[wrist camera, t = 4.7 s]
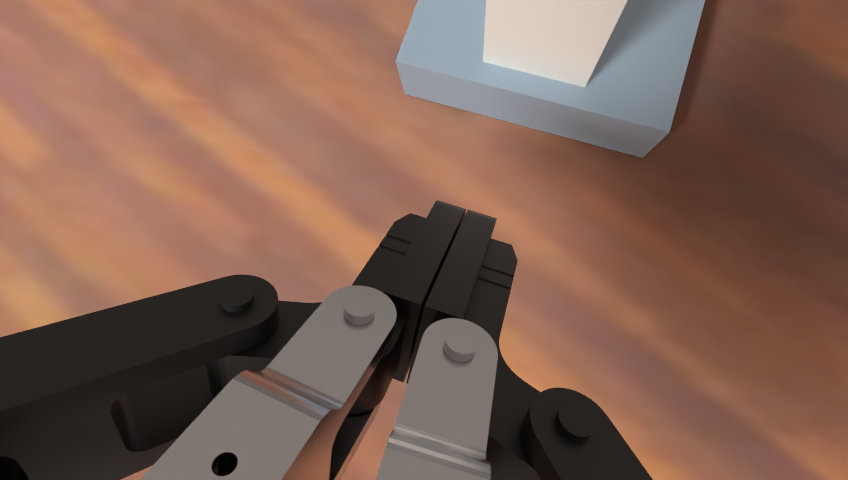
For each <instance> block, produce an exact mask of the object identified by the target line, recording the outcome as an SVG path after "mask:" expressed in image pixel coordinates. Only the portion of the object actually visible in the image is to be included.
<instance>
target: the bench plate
mask: <svg viewBox="0 0 848 480" xmlns="http://www.w3.org/2000/svg"><path fill="white" fill-rule="evenodd" d="M704 3H705V0H628V1H627V3H626V5H625V7H624V9H623V11H622V13H621V15H620V17H619V19H618V21H617V23H616V25H615V27H614V29H613V31H612V33H611V35H610V37H609V39H608V41H607V44H606V46H605V48H604V50H603V52H602V54H601V56H600V58H599V60H598V62H597V64H596V66H595V68H594V70H593V72H592V74H591V76H590V78H589V80H588V82H587V84H586V86H585V87H581V86H577V85H573V84H569V83H565V82H561V81H557V80H553V79H549V78H546V77H542V76H538V75H534V74H530V73H526V72H522V71H518V70H514V69H510V68H506V67H502V66H498V65H494V64H490V63H486V62H483V50H484V31H485V12H486V0H418V2H417V5H416V7H415V10H414V13H413V15H412V18H411V21H410V23H409V26H408V29H407V32H406V34H405V37H404V40H403V42H402V45H401V48H400V50H399V53H398V56H397V59H396V65H397V68H398V72H399V76H400V79H401V83H402V86H403V90H404V93H405V94H406V95H410V96H414V97H418V98H421V99H425V100H429V101H432V102H436V103H440V104H444V105H447V106H451V107H455V108H458V109H462V110H466V111H470V112H473V113H477V114H481V115H484V116H488V117H492V118H496V119H499V120H503V121H507V122H510V123H514V124H518V125H522V126H525V127H529V128H533V129H536V130H540V131H544V132H548V133H551V134H555V135H559V136H562V137H566V138H570V139H574V140H577V141H581V142H585V143H588V144H592V145H596V146H600V147H603V148H607V149H611V150H615V151H618V152H622V153H626V154H629V155H633V156H637V157H641V158H643V157H644V156H645V155H646V154H647V153H648V152H649V151H651V150H652V149H653V148H654V147H655V146H656V145H657V144H658V143H659V142H660V141H661V140H662V139H663V138H664V137H665V136H666V135H667V134H668V133H669V132H670V129H671V125H672V122H673V118H674V114H675V110H676V107H677V103H678V99H679V96H680V92H681V88H682V84H683V81H684V77H685V73H686V70H687V66H688V62H689V59H690V55H691V51H692V47H693V44H694V40H695V36H696V33H697V29H698V25H699V21H700V18H701V14H702V10H703V7H704Z"/></svg>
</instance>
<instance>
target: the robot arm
mask: <svg viewBox="0 0 848 480" xmlns="http://www.w3.org/2000/svg"><path fill="white" fill-rule="evenodd" d="M465 212H466V209H464V208H461V207H457V206H454V205H451V204H448V203H444V202H441V201H438V200H437V201H436V202H435V204H434V206H433V208H432V209H431V211H430V213H429V214H428V216H427V218H424V217H421V216H418V215H414V214H411V213H410V214H408V215H406V216H404V217H403V218H401V219H399V220H397V221H395V222H394V224H393V225H392V227H391V228H390V230H389V231H388V233H387V234H386V237H384V239H383V240H382V242H381V243H380V244H379V247H377V249H376V250H375V252H374V253H373V255H372V256H371V258H370V259H369V261H368V262H367V264H366V265H365V267H364V268H363V270H362V271H361V273H360V274H359V276H358V277H357V278H356V280H355V281H354V283H353V284H352V286H347V287H343V288H340V289H338V290H336V291H334V292H332V293H331V294H330V295H329V296H328V297H327V298H326V299H325V300H324V301H323V302H320V303H301V302H288V301H278V296H277V292H276V290H275V288H274V287H273V286H272V285H271V284H270V283H269V282H267V281H266V280H264V279H262V278H259V277H256V276H252V275H232V276H227V277H223V278H219V279H216V280H212V281H208V282H205V283H201V284H197V285H193V286H190V287H186V288H182V289H179V290H175V291H171V292H167V293H164V294H160V295H156V296H153V297H149V298H145V299H141V300H138V301H134V302H130V303H127V304H123V305H119V306H115V307H112V308H108V309H104V310H101V311H97V312H93V313H90V314H86V315H82V316H78V317H75V318H71V319H67V320H64V321H60V322H56V323H52V324H49V325H45V326H41V327H38V328H34V329H30V330H26V331H23V332H19V333H15V334H12V335H8V336H4V337H0V480H120V479H123V478H125V477H127V476H129V475H132V474H134V473H136V472H139V471H141V470H143V469H145V468H148V467H150V466H152V465H153V466H152V467H151V468H150V469H149V470H148V471H147V473H146V474H145V475H144V476H143V477H142V478H141V479H140V480H340V479H341V478H342V476H343V474H344V472H345V470H346V469H347V467H348V465H349V463H350V461H351V459H352V458H353V456H354V454H355V452H356V450H357V449H358V447H359V445H360V443H361V441H362V439H363V438H364V436H365V434H366V432H367V430H368V429H369V427H370V425H371V423H372V421H373V419H374V418H375V416H376V414H377V412H378V410H379V408H380V403H381V401H382V399H383V397H384V396H385V393H386V391H387V389H388V387H389V385H390V382H391V380H392V378H393V379H396V380H398V381H401V382H404V380H405V377H406V375H407V373H408V370H409V368H410V370H409V374H408V379H407V384H408V385H407V388H406V391H405V394H404V397H403V401H402V404H401V407H400V410H399V414H398V417H397V420H396V423H395V426H394V429H393V431H392V432H391V434H390V437H389V440H388V443H387V446H386V449H385V452H384V455H383V459H382V462H381V465H380V468H379V471H378V474H377V478H376V480H652V478H651V477H650V475H649V474H648V473H647V471H646V470H645V468H644V467H643V466H642V464H641V463H640V461H639V460H638V458H637V457H636V456H635V454H634V453H633V451H632V450H631V449H630V447H629V446H628V444H627V443H626V442H625V440H624V439H623V437H622V436H621V435H620V433H619V432H618V430H617V429H616V428H615V426H614V425H613V423H612V422H611V421H610V419H609V418H608V416H607V415H606V414H605V413H604V411H603V410H602V409H601V408H600V407H599V406H598V405H597V404H596V403H595V402H593V401H592V400H591V399H590V398H588V397H586V396H585V395H583V394H581V393H579V392H577V391H574V390H570V389H566V388H551V389H547V390H545V391H543V392H539V391H538V390H536V389H535V388H533V387H532V386H530V385H529V384H528V383H526V382H525V381H523V380H522V379H521V378H519V377H518V376H517V375H516V374H515V373H514V372H513V371H512V370H511V369H510V368H509V367H508V366H507V364H506V363H505V361H504V359H503V357H502V355H501V352H500V348H499V337H500V333H501V328H502V324H503V320H504V316H505V311H506V307H507V303H508V299H509V294H510V289H511V286H512V282H513V277H514V273H515V269H516V265H517V258H516V255H515V253H514V250H513V247H512V245H510V244H507V243H504V242H500V241H497V240H494V239H491V236H492V232H493V229H494V226H495V223H496V219H497V218H493V217H490V216H487V215H484V214H480V213H477V212H474V211H471V210H468V211H467V212H466V215H465ZM410 365H411V366H410ZM193 368H194V369H193ZM154 382H155V383H154ZM140 387H141V388H140Z"/></svg>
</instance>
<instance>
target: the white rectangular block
mask: <svg viewBox="0 0 848 480" xmlns="http://www.w3.org/2000/svg"><path fill="white" fill-rule="evenodd" d="M627 1H628V0H486V12H485V31H484V50H483V62H486V63H490V64H494V65H498V66H502V67H506V68H510V69H514V70H518V71H522V72H526V73H530V74H534V75H538V76H542V77H546V78H549V79H553V80H557V81H561V82H565V83H569V84H573V85H577V86H581V87H585V86H586V84H587V82H588V80H589V78H590V76H591V74H592V72H593V70H594V68H595V66H596V64H597V62H598V60H599V58H600V56H601V54H602V52H603V50H604V48H605V46H606V44H607V41H608V39H609V37H610V35H611V33H612V31H613V29H614V27H615V25H616V23H617V21H618V19H619V17H620V15H621V13H622V11H623V9H624V7H625V5H626V3H627Z"/></svg>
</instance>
